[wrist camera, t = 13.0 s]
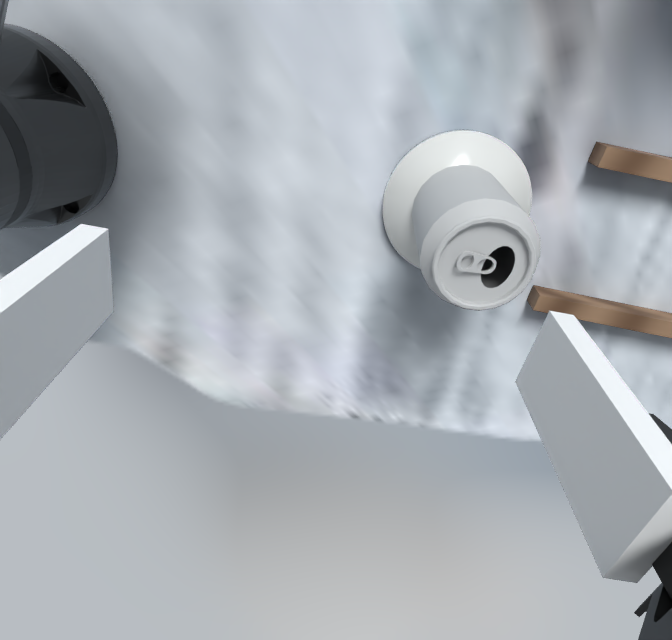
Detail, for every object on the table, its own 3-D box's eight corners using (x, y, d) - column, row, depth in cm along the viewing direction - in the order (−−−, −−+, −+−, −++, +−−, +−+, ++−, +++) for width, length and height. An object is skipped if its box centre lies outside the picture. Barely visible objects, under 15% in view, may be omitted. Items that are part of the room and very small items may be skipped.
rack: (526, 299, 44) (532, 310, 42) (596, 141, 37) (607, 146, 35) (708, 336, 44) (721, 348, 43) (810, 187, 37) (831, 194, 36)
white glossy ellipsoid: (368, 257, 43) (368, 260, 42) (402, 115, 37) (403, 116, 36) (498, 283, 43) (500, 287, 43) (553, 147, 37) (556, 149, 37)
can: (481, 261, 41) (515, 334, 31) (398, 237, 41) (405, 303, 31) (520, 177, 38) (573, 227, 27) (430, 150, 37) (449, 190, 27)
